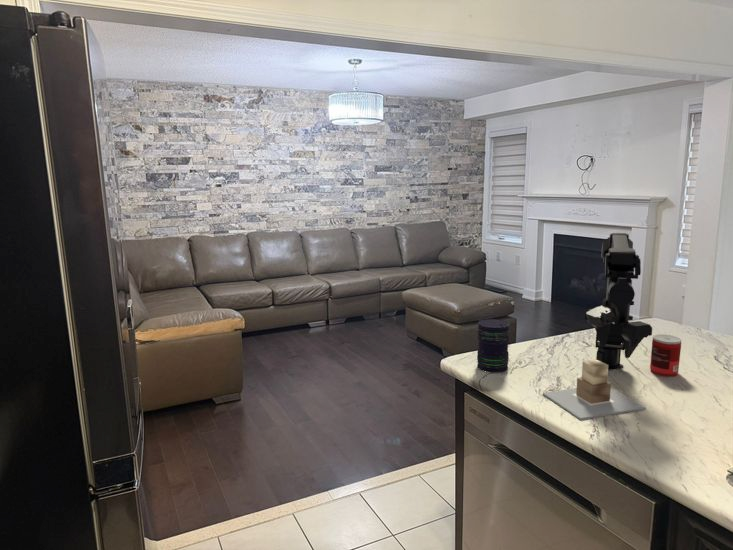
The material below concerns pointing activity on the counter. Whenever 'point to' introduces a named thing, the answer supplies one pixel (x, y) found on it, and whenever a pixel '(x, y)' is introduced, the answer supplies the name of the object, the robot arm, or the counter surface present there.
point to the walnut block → (593, 391)
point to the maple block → (594, 372)
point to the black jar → (493, 345)
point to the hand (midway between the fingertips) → (614, 352)
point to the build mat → (588, 410)
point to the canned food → (665, 355)
